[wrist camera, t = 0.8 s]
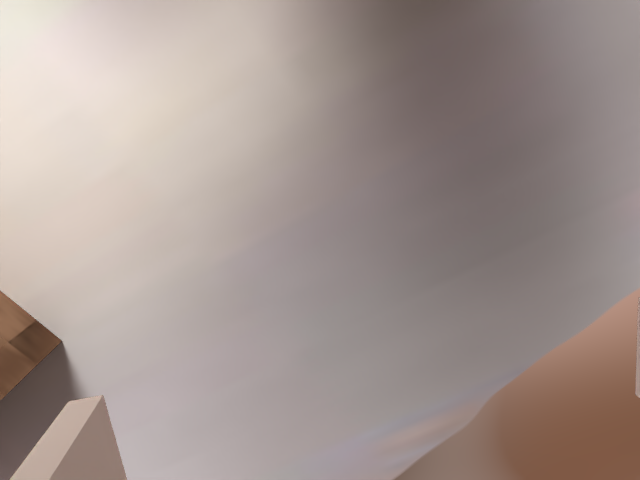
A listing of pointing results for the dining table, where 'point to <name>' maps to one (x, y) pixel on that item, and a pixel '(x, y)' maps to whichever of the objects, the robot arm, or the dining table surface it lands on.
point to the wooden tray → (20, 344)
